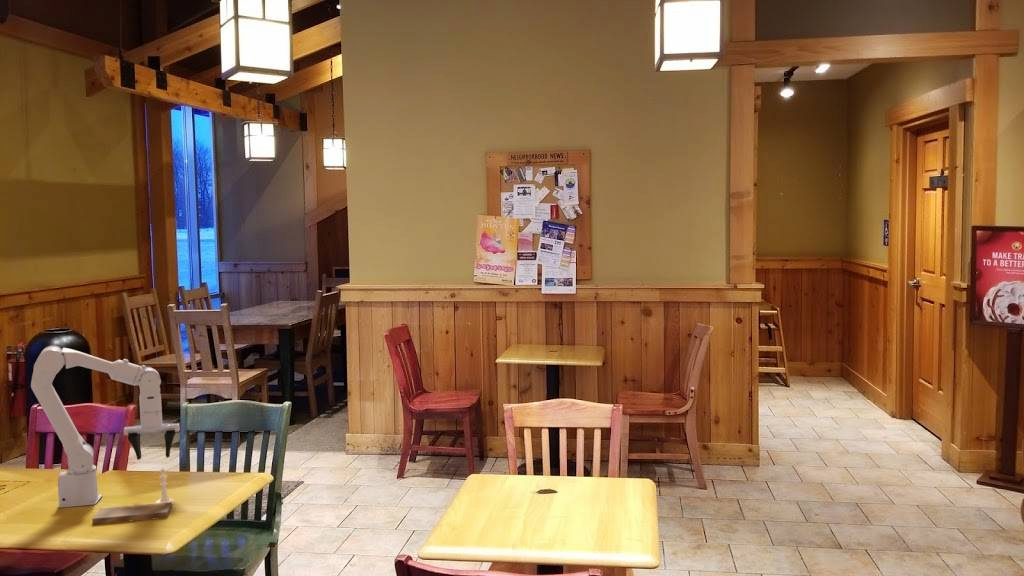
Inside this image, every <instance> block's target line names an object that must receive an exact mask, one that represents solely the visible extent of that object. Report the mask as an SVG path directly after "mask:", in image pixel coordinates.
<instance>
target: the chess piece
mask: <svg viewBox="0 0 1024 576" xmlns="http://www.w3.org/2000/svg"><path fill="white" fill-rule="evenodd" d="M159 473H161V474H160V475H158V476H159V480H160V481H161V482H160V483H159V486H161V495H160V496H161V497H160V498H159V499H158V500H156V501H155V503H154V504H158V503H169V502H172V504H173V505H174V504H175V500H174V499H173V498H171V497H170V496H169V495H168V491H167V485H169V483H168V482H167V478H168V475H167V474H166V473H167V469H166V470H165V468H164V467H162V468H161V470H159Z"/></svg>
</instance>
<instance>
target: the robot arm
mask: <svg viewBox="0 0 1024 576" xmlns="http://www.w3.org/2000/svg"><path fill="white" fill-rule="evenodd" d="M64 366H65V369H70V368H74V367H83V368H84V369H85V368H86V369H91V370H94V371H98V372H101V373H105V374H108V375H109V377H110V379H111V380H112V381H113V380H114V381H117V382H121V383H122V384H123V383H124V384H127V385H131V386H138V387H139V395H138V399H139V417H140V419H139V420H140V425H133V426H125V427H124V428H123V435H124V436H128V437H127V440H128V441H129V443H130V445H131V447H132V448H133V451H134V453H135V457H136V460H137V461H140V460H141V459H142V450H141V449H142V448H141V435H143V434H155V433H164V434H163V435H164V443H165V458H170V455H171V449H172V444H173V441H174V438H175V435H176V433H177V432H179V431H180V430H181V429H180V423H163V412H162V410H163V408H162V394H161V387H160V386H161V384H162V379H161V376H160V373H159V372H158V371H157V370H156V369H155V368H153V367H151V366H147V365H144V364H142V365H138V364H135V363H131V362H130V361H129V359H127V358H123V360H121V359H117V360H115V361H109V360H106V359H103V358H100V357H97V356H94V355H91V354H88V353H86V352H82V351H78V350H76V349H72V348H67V347H63V348H61V347H60V346H57V345H49V346H46V347H45V348H43V350H42V351H41V352H40V353H39V355H38V357H37V359H36V361H35V363H33V372H32V375H31V382H30V387H31V390H32V392H33V394H34V395H35V397H36V399H37V401H38V403H39V404H40V407H41V408H42V410H43V411H44V413H45V415H46V417H47V419H48V421H49V422H50V424H51V426H52V428H53V430H54V431H55V434H56V435H57V436H58V438H59V441H60V442H61V444H62V447H63V451H64V453H65V455H66V457H67V467H68V468H67V470H66V471H61V472H60V473H59V474H58V477H57V494H58V495H57V496H58V508H68V507H79V506H80V507H81V506H93V505H96V504H97V503H98V502H99V501H100V500H101V498H102V497H103V494H102V493H100V494H99V492H98V490H99V489H98V474H97V466H96V465H95V464H94V455H95V451H94V448H93V447H92V445H90V444H89V443H87V442H86V441H85V439H84V438H83V436H82V435H81V434H80V433H79V431H78V430H77V427H76V426H75V424H74V422H73V420H72V418H71V417H70V415H69V413H68V410H66V408H65V406H64V404H63V402H62V400H61V398H60V396H59V394H58V393H57V391H56V389H55V387H54V386H53V381H54V379H55V377H56V375H57V374H58V373H59V372H60V371H61V370H62V369H63V367H64Z"/></svg>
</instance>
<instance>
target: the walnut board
mask: <svg viewBox="0 0 1024 576" xmlns="http://www.w3.org/2000/svg"><path fill="white" fill-rule="evenodd" d="M172 509H173V505H172V502H169V503H158V504H155V503H148V504H147V503H146V504H137V505H135V504H134V505H127V506H126V505H123V506H114V507H113V506H112V507H102V508H101V507H100V508H99V509H98V511H97V512H96V513H95V514H94V515H93V517H92V519H91V521H92V522H91V523H92V525H103V524H111V523H110V522H114V523H122V522H121V521H125V522H131V521H130V520H136V521H143V520H142V519H147V520H154V519H153V518H159V519H166V518H168V517H169V515H168V514H170V513H171V511H172ZM118 521H119V522H118ZM102 523H103V524H102Z"/></svg>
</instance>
